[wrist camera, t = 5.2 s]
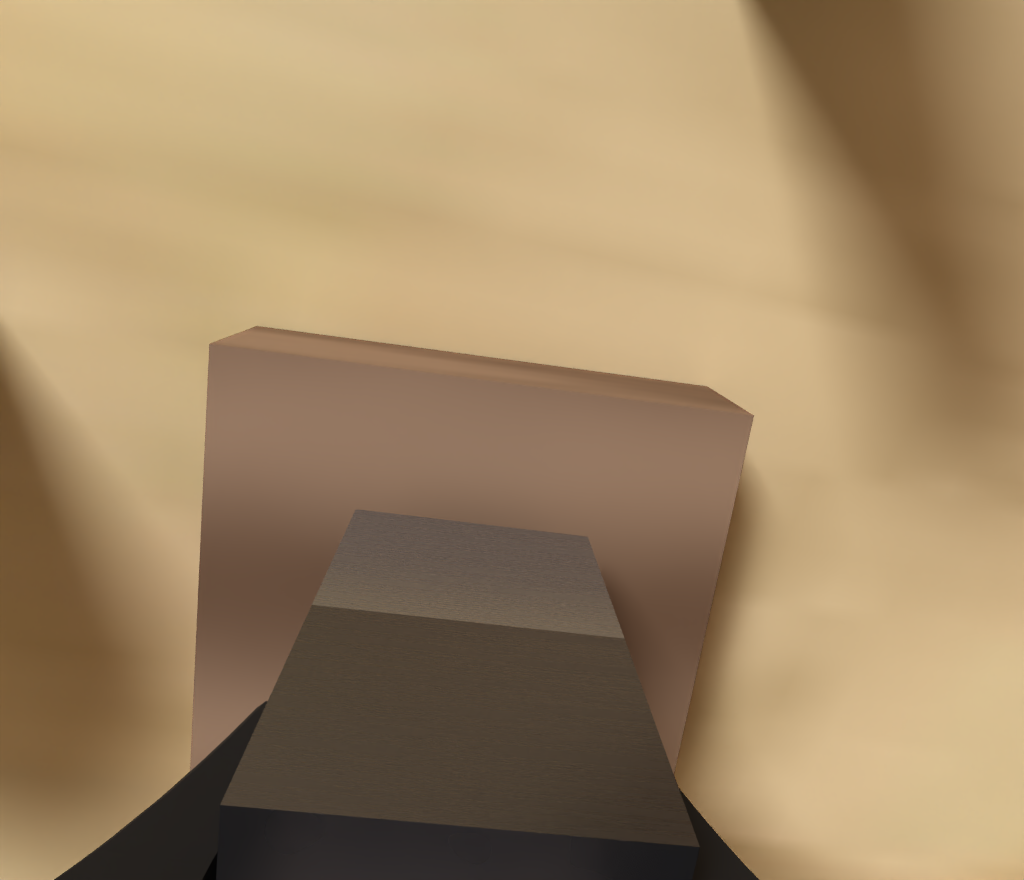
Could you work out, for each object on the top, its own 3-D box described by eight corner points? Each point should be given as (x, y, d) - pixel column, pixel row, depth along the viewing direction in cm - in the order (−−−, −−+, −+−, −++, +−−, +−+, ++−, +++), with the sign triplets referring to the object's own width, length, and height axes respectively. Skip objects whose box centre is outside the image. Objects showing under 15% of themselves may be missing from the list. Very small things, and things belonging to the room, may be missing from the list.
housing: (536, 825, 15) (596, 1441, 7) (327, 806, 14) (160, 1427, 7) (587, 536, 13) (729, 929, 6) (355, 509, 13) (183, 884, 5)
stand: (629, 767, 20) (655, 858, 17) (232, 729, 19) (188, 818, 16) (707, 386, 17) (754, 415, 14) (257, 326, 16) (209, 344, 14)
